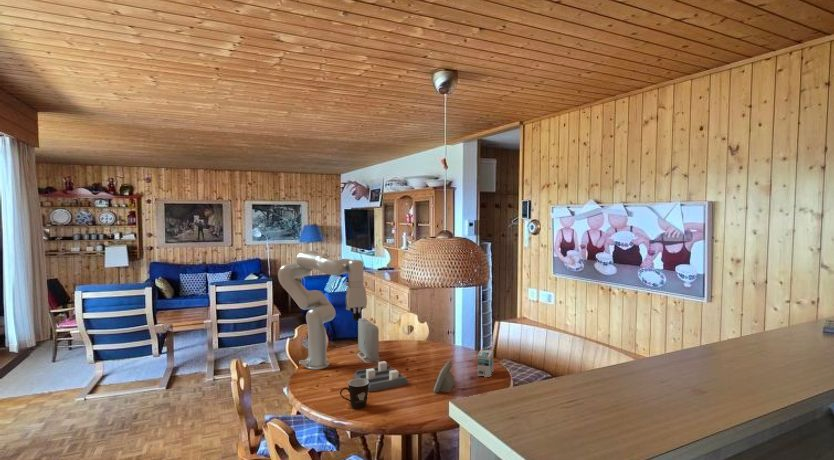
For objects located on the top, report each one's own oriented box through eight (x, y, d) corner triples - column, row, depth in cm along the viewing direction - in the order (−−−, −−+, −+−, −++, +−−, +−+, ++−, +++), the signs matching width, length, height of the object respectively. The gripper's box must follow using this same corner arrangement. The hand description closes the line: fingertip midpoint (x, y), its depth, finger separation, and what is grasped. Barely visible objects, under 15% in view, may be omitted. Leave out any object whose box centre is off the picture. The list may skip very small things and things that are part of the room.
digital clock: (442, 380, 206) (442, 358, 205) (459, 383, 201) (459, 361, 201) (427, 392, 192) (427, 368, 191) (445, 396, 187) (444, 372, 187)
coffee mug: (369, 401, 182) (369, 378, 182) (368, 410, 173) (368, 386, 173) (342, 401, 181) (342, 378, 181) (339, 410, 173) (339, 386, 173)
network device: (354, 352, 249) (354, 318, 249) (368, 350, 253) (368, 317, 252) (368, 365, 226) (368, 328, 226) (383, 363, 230) (383, 327, 229)
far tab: (380, 371, 211) (380, 363, 211) (378, 369, 214) (378, 362, 214) (386, 370, 213) (386, 362, 213) (384, 368, 215) (384, 360, 215)
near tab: (391, 381, 199) (391, 372, 198) (389, 379, 201) (389, 370, 201) (398, 379, 200) (398, 371, 200) (395, 377, 203) (395, 369, 203)
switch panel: (368, 391, 192) (368, 385, 192) (354, 377, 209) (353, 371, 209) (407, 384, 201) (407, 377, 201) (390, 370, 219) (390, 364, 218)
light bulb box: (490, 378, 208) (490, 356, 208) (476, 376, 210) (477, 355, 210) (493, 370, 218) (493, 350, 218) (480, 369, 220) (480, 349, 220)
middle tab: (368, 379, 201) (368, 371, 201) (366, 377, 203) (366, 369, 203) (375, 378, 202) (375, 370, 202) (372, 376, 205) (372, 368, 205)
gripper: (344, 286, 207) (344, 323, 208) (372, 284, 214) (372, 320, 215) (339, 284, 214) (339, 320, 215) (367, 282, 221) (367, 317, 221)
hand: (356, 320), depth 215 cm, fingers closed
